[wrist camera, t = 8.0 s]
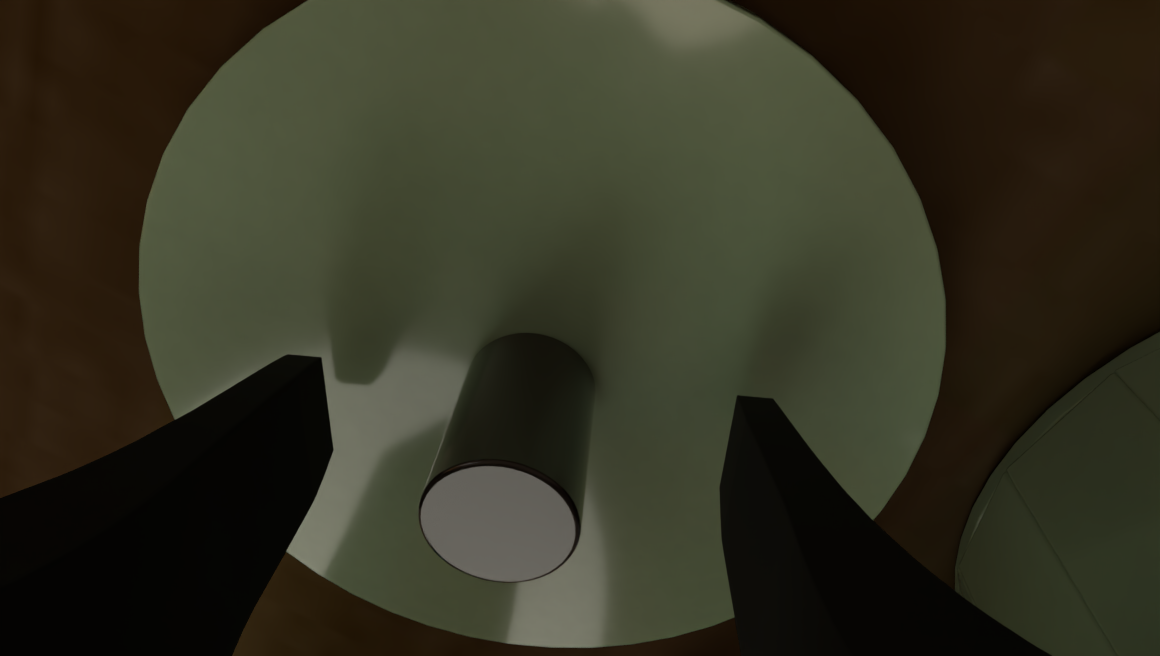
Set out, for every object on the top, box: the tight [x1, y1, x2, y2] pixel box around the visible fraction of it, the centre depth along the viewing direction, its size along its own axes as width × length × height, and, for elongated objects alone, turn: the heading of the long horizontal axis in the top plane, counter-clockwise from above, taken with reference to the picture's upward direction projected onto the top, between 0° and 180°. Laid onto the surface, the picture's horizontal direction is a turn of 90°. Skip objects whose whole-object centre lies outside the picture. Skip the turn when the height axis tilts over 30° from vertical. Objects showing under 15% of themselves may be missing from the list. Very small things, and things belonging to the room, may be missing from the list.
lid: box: [139, 0, 946, 648], centre depth 13 cm, size 15×15×5 cm
